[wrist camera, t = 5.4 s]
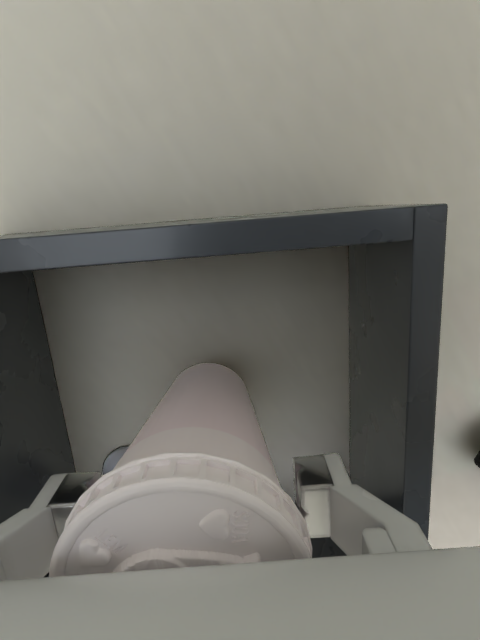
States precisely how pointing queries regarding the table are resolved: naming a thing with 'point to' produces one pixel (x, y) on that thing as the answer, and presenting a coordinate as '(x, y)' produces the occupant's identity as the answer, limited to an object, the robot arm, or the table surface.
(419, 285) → the basin
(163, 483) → the smoothie
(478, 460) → the electric trimmer
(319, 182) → the table surface
